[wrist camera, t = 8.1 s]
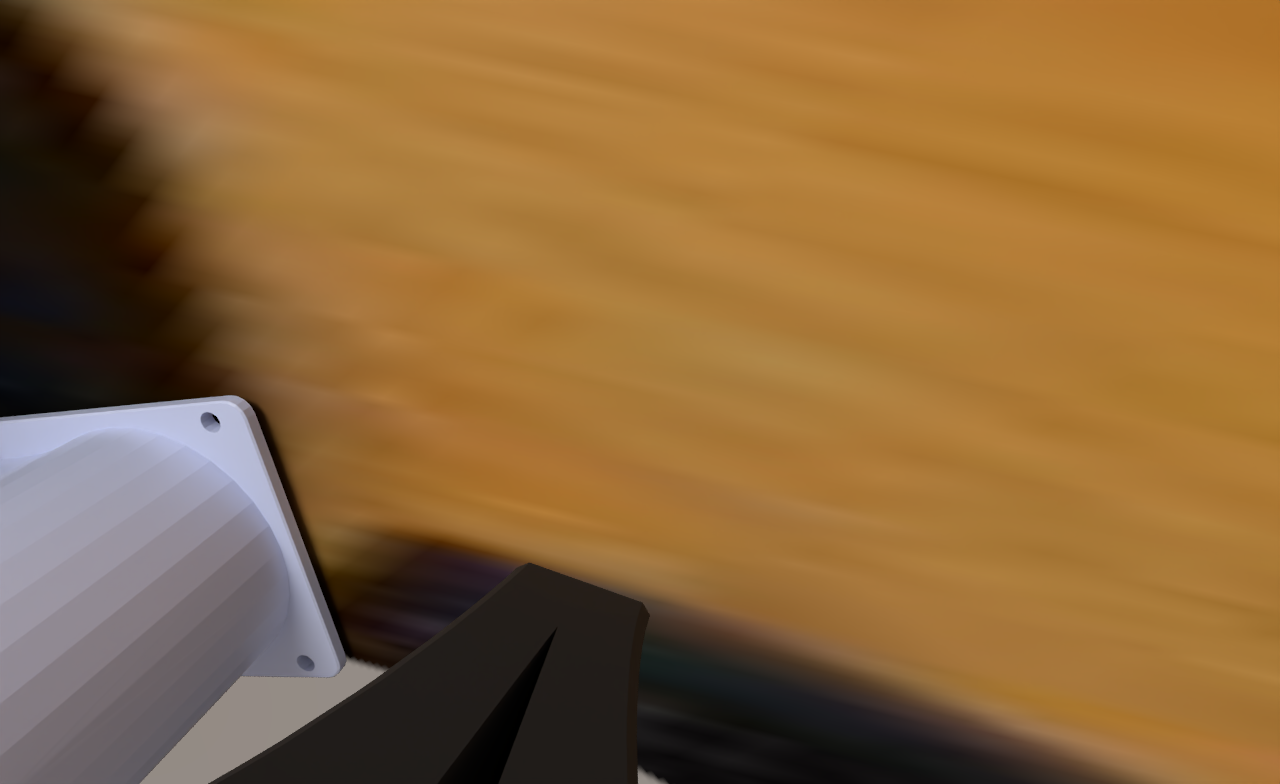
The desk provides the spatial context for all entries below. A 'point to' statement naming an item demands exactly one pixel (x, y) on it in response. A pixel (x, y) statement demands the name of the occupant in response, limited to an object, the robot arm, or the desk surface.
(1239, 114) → the desk surface
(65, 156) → the desk surface
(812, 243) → the desk surface
